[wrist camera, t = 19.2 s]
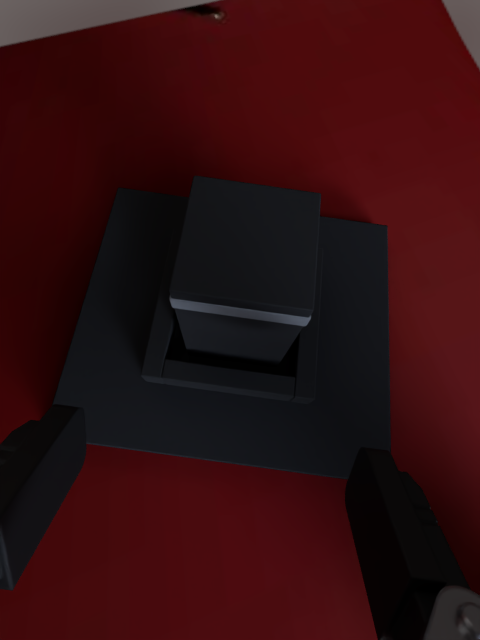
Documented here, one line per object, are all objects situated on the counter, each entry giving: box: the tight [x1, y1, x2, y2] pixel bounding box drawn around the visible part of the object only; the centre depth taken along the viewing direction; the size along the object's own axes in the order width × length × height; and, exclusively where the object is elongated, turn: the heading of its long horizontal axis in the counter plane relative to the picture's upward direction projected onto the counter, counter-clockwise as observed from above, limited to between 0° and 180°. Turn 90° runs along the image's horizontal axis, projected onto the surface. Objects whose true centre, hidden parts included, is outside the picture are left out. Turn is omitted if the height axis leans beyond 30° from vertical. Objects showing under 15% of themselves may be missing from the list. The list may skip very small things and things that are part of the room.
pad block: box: [169, 176, 321, 367], centre depth 17 cm, size 5×5×8 cm
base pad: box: [52, 188, 391, 479], centre depth 20 cm, size 17×15×2 cm
